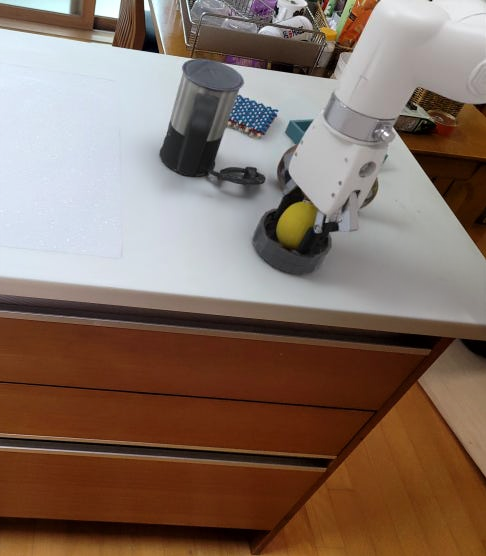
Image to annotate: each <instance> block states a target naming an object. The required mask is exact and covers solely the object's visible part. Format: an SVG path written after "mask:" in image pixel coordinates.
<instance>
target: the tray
mask: <svg viewBox="0 0 486 556" xmlns="http://www.w3.org/2000/svg"><path fill="white" fill-rule="evenodd" d="M314 119H315V118H310V119H291V120H289V121H288V124H287V126H286V128H285V131H284V133H285V134H286V136H287V137H288V138H289V139H290V140H291V141H292V142H293V143H294V145H296V144H299V143H300V141H301V139H302V138H303V136H304V134H305V133H306V131H307V129H308V128H309V126H310V125H311V123H312V122H313V120H314ZM388 157H389V154H387V153H386V155H385V158H384V161H383V164H382V166H383V165H384V163H385V161H386V160H388ZM382 166H381V168H382Z"/></svg>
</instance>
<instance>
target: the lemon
mask: <svg viewBox="0 0 486 556" xmlns="http://www.w3.org/2000/svg"><path fill="white" fill-rule="evenodd" d="M317 211H318V208H317V207H316V206H315V205H314V203H313V202H309V201H303V202H298V203H295V204H293V205H291V206H290V207H288V208H287V209H286V210H285V212H284V213H283V214H282V215H281V217H280V219H279V221H278V224H277V229H276V233H277V237H278V240H279V242H280V243H281V244H282V245H283V246H284V247H286V248H287V249H290V250H298V246H299V244H300V242H301V241H302V239H303V237H304V235H305V233H306V232H307V230H308V228H309V227H314V224H315V220H316V215H317Z"/></svg>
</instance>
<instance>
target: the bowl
mask: <svg viewBox="0 0 486 556" xmlns="http://www.w3.org/2000/svg"><path fill="white" fill-rule="evenodd" d="M277 209H278V207H276V208H271V209H270V210H267V211H265V212H264V213H263V215H261V217H260V219H259V221H258V224H257V226H256V227H255V230H254V232H253V236H252V244H253V247H254V250H255V251H256V252H257V254H258V256H260V257H261V258H262V259H263V260H264V261H265V262H266V263H268V264H269V265H270V266H272V267H274V268H275V269H278V270H281V271H283V272H286V273H288V274H289V273H290V274H297V275H305V274H310V273H314V272H315V271H316V270H318V269H319V268H320V267H321V265H322V264H323V262H324V260H325V259H326V257H327V256H328V254H329V252H330V251H331V249H332V246H333V239H332V237H331V235H330V233H329V234H328V236H327V237H326V239H325V241H324V242H323V244H322V246H321V247H320V248H319V249H318V250H314V251H306V252H300V251H299V250H290V249H287V248H286V247H284V246H283V245H282V244H281V243H280V242H279V240H278V237H277V233H276V229H277V224H278V221H277V220H275V219H274V215H275V213H276V211H277Z"/></svg>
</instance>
